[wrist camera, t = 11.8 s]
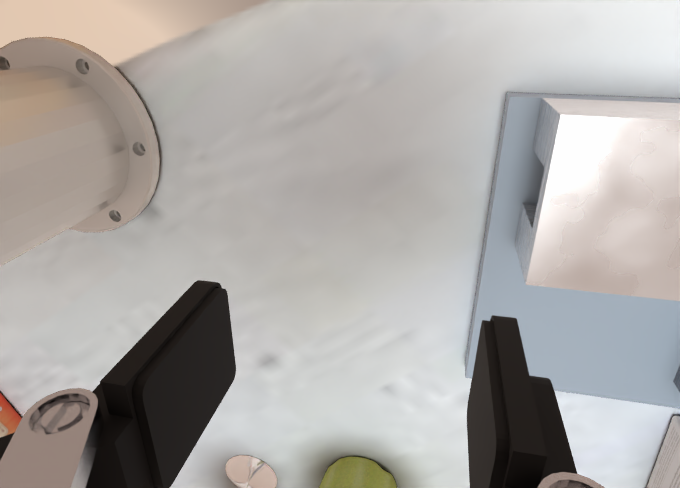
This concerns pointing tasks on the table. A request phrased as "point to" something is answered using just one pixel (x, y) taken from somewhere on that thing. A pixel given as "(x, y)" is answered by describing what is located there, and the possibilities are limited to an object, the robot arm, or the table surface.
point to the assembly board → (568, 291)
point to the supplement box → (668, 459)
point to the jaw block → (677, 379)
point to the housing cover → (605, 199)
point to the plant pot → (356, 475)
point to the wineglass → (250, 472)
